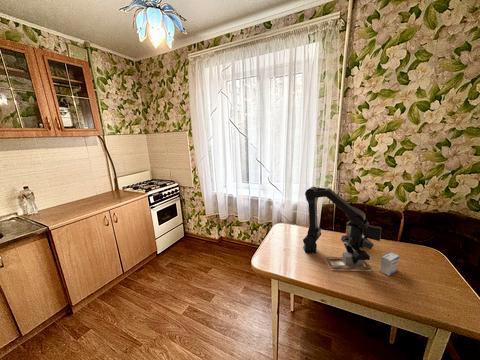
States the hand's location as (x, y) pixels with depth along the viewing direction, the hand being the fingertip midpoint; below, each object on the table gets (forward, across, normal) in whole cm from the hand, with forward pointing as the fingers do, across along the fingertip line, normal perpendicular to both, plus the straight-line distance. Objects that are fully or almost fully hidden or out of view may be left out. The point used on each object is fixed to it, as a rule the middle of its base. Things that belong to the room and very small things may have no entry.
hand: (352, 260), depth 105 cm
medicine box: (+3, -4, -16) cm, 17 cm away
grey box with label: (+1, 0, 0) cm, 1 cm away
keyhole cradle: (+2, 0, +3) cm, 4 cm away
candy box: (+3, +21, -9) cm, 23 cm away
